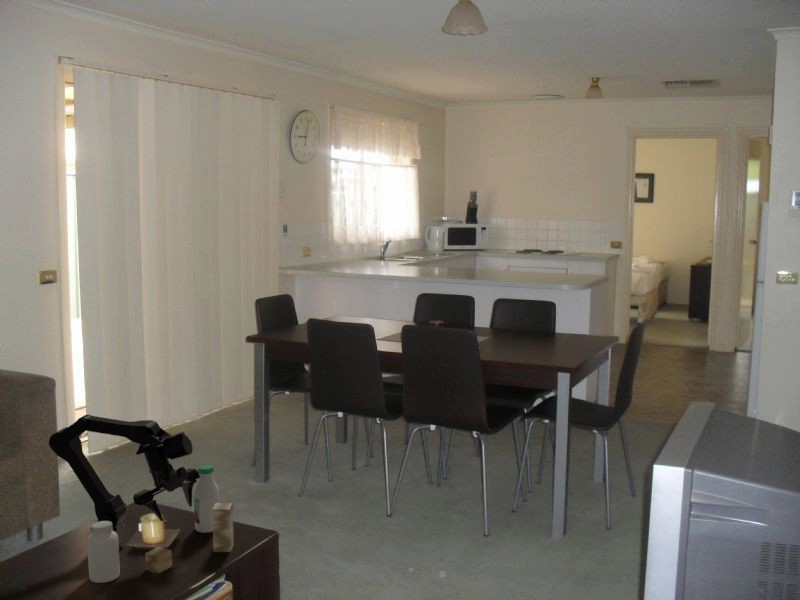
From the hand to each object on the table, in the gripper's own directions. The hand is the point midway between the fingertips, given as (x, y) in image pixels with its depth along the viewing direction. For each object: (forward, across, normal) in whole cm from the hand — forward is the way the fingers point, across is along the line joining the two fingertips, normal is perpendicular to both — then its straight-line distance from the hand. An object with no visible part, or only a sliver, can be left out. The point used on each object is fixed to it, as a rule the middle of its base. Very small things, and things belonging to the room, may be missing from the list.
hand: (176, 513), depth 233 cm
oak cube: (+11, -11, -4) cm, 16 cm away
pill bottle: (+7, -24, 0) cm, 25 cm away
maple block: (+15, +8, -3) cm, 18 cm away
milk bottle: (+12, +12, +13) cm, 21 cm away
